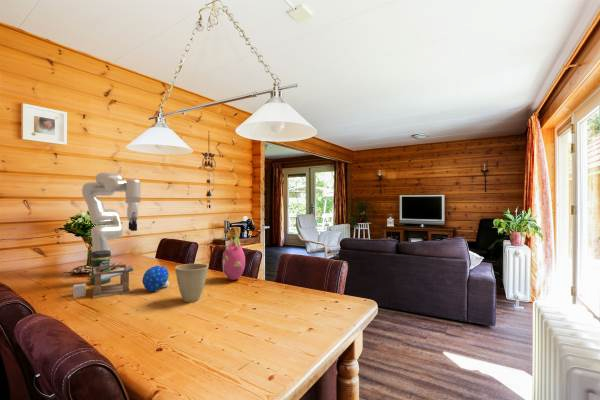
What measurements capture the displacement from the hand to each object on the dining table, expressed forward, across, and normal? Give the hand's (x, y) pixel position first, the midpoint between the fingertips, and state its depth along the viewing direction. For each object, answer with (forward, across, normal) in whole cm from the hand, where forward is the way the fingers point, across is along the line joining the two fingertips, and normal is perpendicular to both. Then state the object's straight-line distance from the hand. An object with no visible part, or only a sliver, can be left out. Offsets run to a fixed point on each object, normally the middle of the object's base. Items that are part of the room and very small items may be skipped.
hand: (132, 230), depth 177 cm
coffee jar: (+31, -9, -15) cm, 35 cm away
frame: (+30, +12, -11) cm, 34 cm away
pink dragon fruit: (+31, +26, +51) cm, 65 cm away
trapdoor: (+22, +12, -9) cm, 27 cm away
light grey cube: (+25, +12, -24) cm, 37 cm away
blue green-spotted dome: (+31, +23, +9) cm, 39 cm away
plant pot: (+31, +50, +20) cm, 62 cm away
